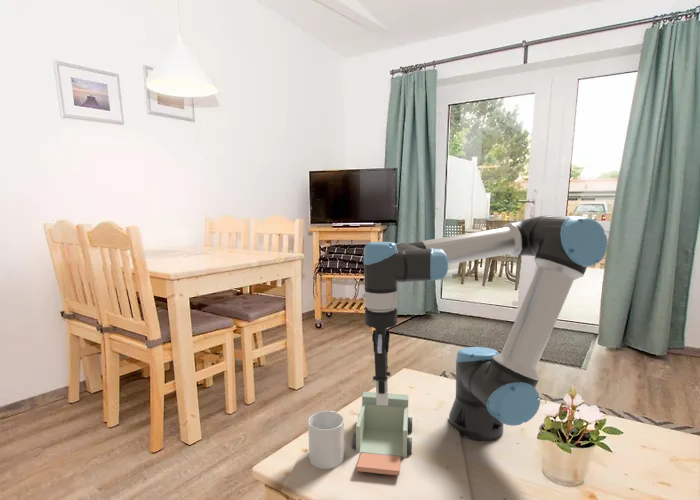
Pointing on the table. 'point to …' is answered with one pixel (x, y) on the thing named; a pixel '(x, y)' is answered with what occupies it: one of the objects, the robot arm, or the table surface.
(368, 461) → the panel
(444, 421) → the table surface
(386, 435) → the truck bed
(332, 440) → the mug
